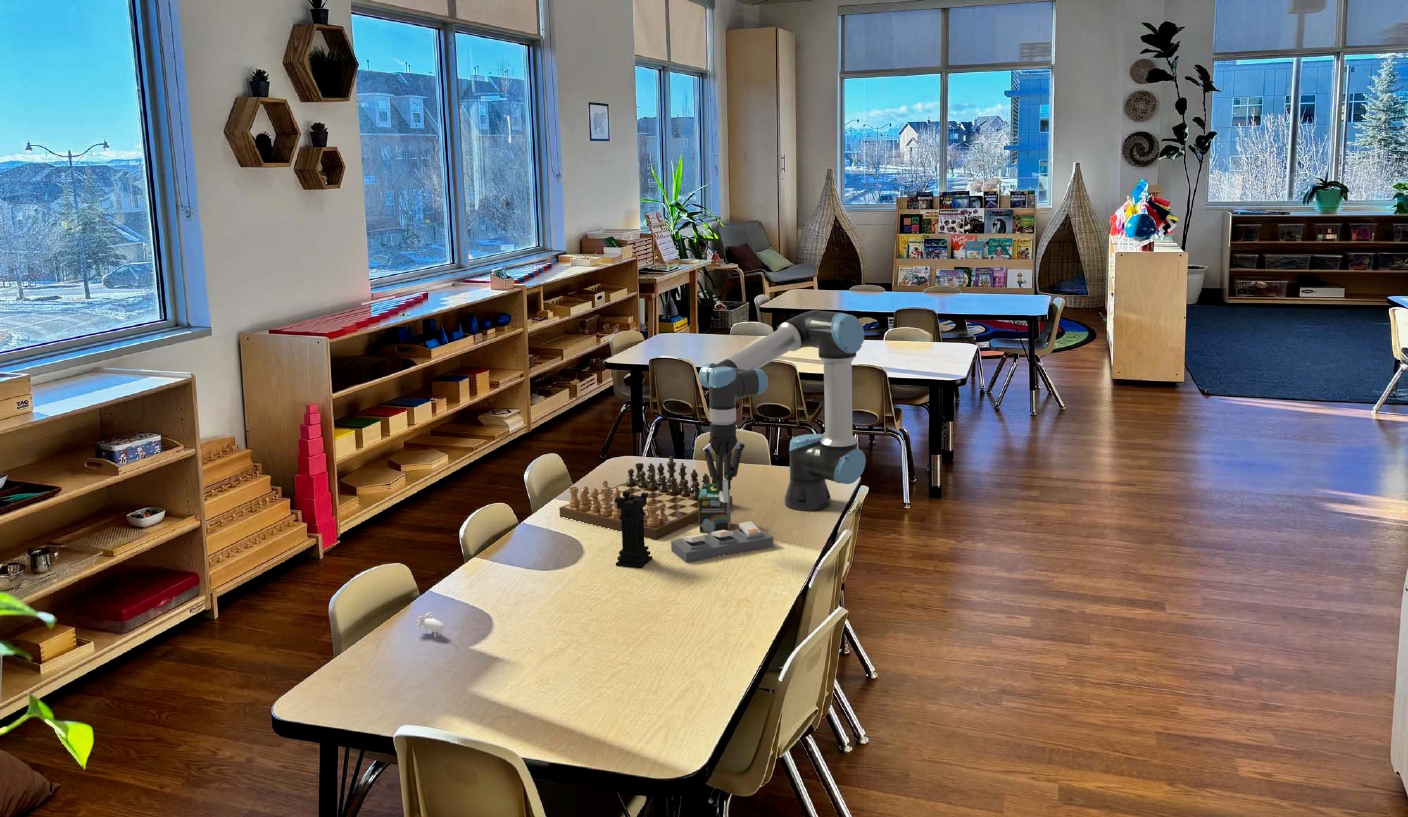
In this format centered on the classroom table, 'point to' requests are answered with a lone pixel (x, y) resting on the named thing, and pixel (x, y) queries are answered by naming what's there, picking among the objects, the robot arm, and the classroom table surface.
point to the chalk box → (713, 510)
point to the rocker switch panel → (720, 545)
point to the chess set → (664, 505)
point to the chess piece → (632, 531)
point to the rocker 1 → (694, 538)
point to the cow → (430, 623)
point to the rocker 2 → (749, 528)
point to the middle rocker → (722, 533)
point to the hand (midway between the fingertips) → (723, 501)
